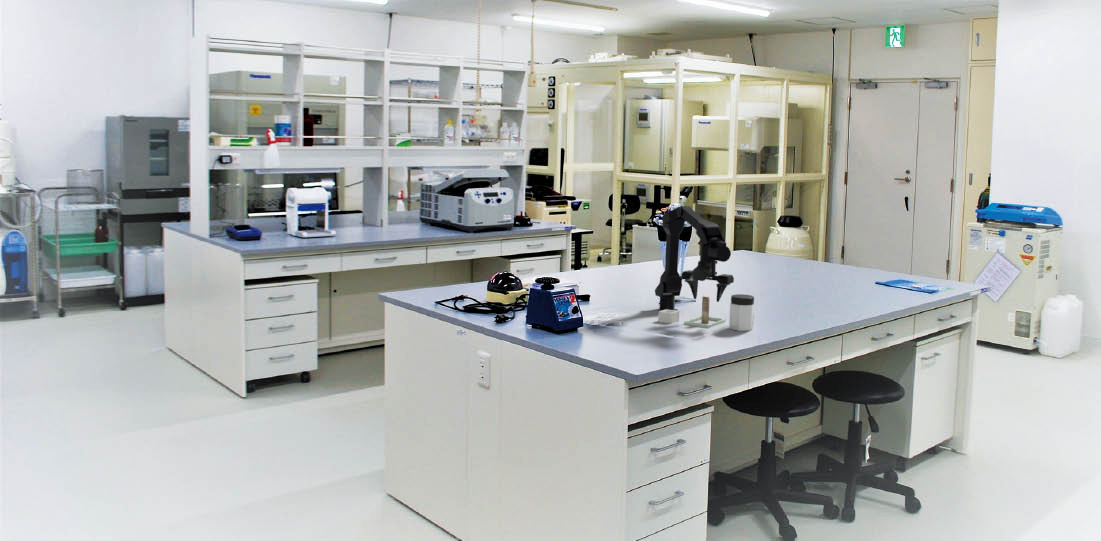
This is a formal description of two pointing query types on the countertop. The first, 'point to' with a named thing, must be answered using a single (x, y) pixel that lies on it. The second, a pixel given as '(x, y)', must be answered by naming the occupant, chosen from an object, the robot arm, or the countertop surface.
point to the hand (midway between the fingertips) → (706, 300)
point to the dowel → (705, 309)
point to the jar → (741, 312)
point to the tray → (691, 322)
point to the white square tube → (668, 316)
